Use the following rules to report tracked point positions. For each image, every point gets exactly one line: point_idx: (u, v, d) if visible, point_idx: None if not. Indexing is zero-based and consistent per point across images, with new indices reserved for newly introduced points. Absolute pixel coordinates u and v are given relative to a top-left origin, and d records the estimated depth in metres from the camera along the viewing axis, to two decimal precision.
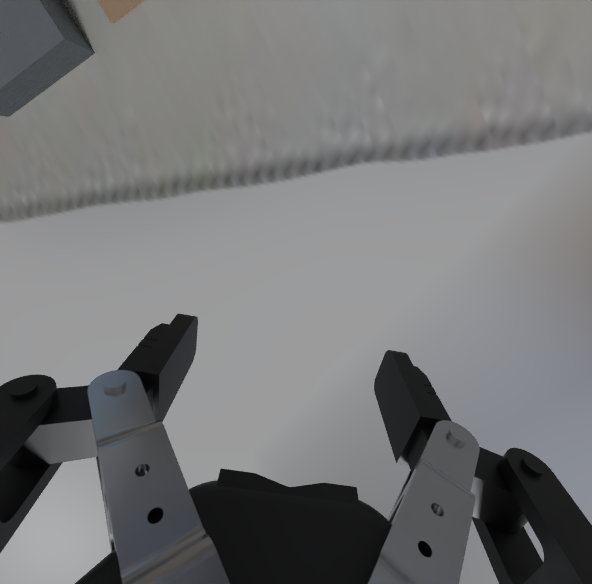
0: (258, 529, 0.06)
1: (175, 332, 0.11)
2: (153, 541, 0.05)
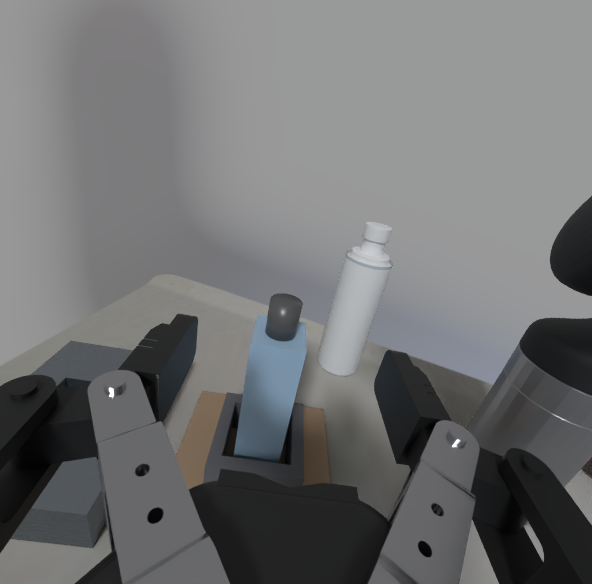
0: (258, 529, 0.06)
1: (175, 332, 0.11)
2: (154, 542, 0.05)
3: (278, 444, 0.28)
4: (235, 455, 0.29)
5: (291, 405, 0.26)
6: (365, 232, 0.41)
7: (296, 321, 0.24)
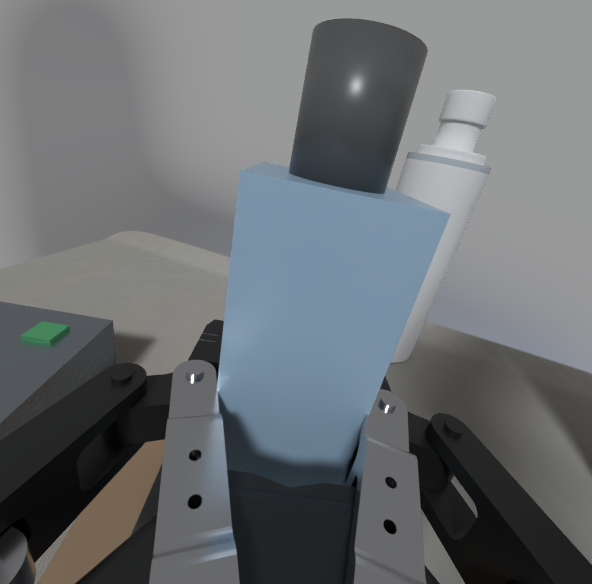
0: (258, 529, 0.06)
1: None
2: (187, 526, 0.05)
3: None
4: None
5: (364, 412, 0.09)
6: (448, 107, 0.23)
7: (404, 113, 0.07)
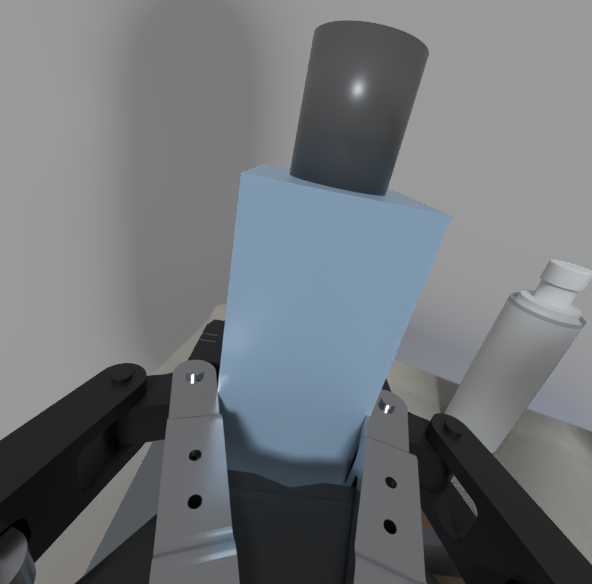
0: (258, 529, 0.06)
1: None
2: (187, 526, 0.05)
3: None
4: None
5: (365, 414, 0.09)
6: (552, 275, 0.29)
7: (405, 115, 0.07)
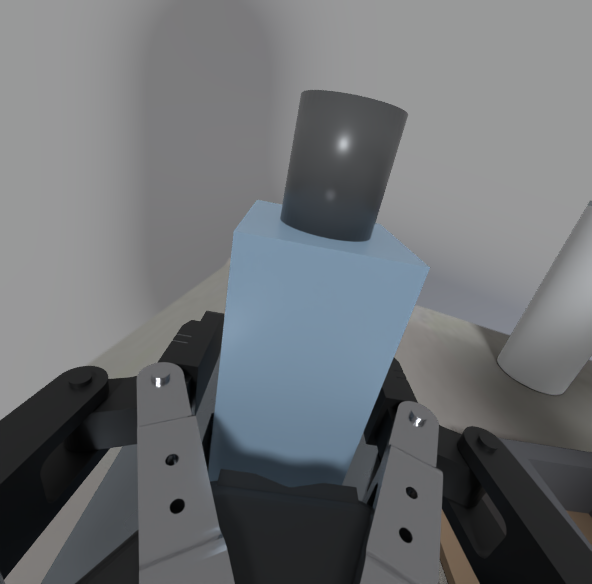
0: (258, 529, 0.06)
1: (207, 328, 0.11)
2: (172, 531, 0.05)
3: None
4: None
5: (354, 441, 0.09)
6: None
7: (387, 170, 0.07)
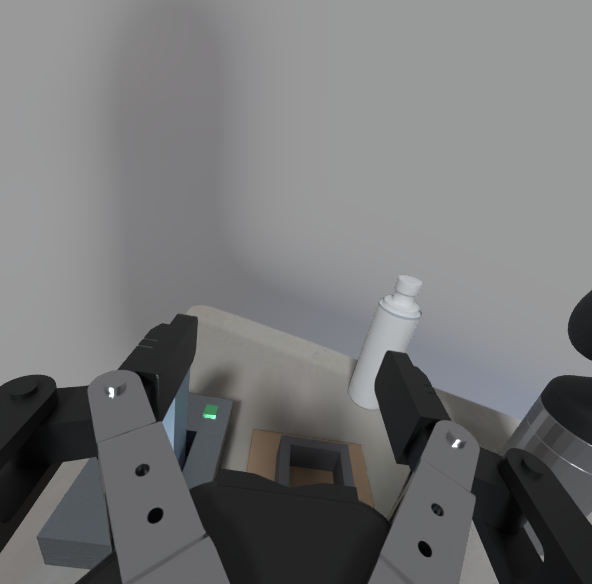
0: (258, 529, 0.06)
1: (175, 332, 0.11)
2: (154, 541, 0.05)
3: None
4: None
5: (172, 435, 0.30)
6: (398, 286, 0.45)
7: None
